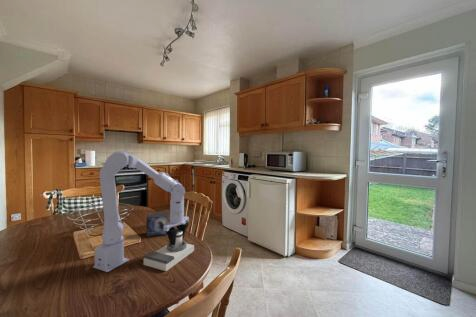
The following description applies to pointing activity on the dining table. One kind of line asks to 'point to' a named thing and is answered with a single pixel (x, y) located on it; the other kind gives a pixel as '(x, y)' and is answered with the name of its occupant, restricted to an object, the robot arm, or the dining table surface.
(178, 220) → the robot arm
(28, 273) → the dining table surface
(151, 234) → the small box
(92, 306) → the dining table surface
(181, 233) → the lens
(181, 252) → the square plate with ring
